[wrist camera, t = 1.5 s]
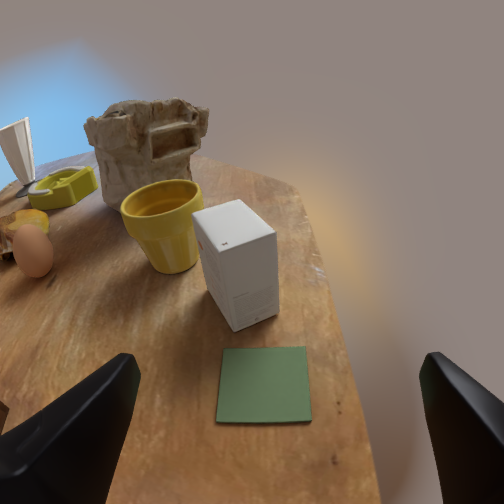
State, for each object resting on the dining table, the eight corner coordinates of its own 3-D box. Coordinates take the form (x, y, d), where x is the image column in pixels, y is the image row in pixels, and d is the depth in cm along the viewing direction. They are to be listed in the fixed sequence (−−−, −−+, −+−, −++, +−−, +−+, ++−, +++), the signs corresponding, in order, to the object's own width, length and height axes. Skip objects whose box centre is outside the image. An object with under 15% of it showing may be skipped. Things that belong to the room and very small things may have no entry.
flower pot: (140, 246, 46) (123, 188, 40) (206, 232, 48) (196, 172, 42) (139, 291, 38) (115, 225, 32) (218, 274, 39) (206, 205, 34)
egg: (57, 281, 40) (33, 231, 35) (23, 291, 38) (-2, 244, 33) (63, 256, 45) (44, 210, 40) (32, 266, 44) (11, 222, 38)
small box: (280, 314, 33) (279, 232, 27) (233, 334, 32) (218, 252, 25) (247, 273, 39) (240, 196, 33) (206, 288, 37) (190, 211, 31)
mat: (311, 421, 23) (311, 420, 23) (216, 422, 24) (215, 421, 23) (305, 347, 30) (305, 346, 29) (223, 349, 30) (223, 348, 30)
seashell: (37, 198, 57) (49, 203, 47) (46, 229, 60) (60, 241, 50) (-24, 226, 46) (-28, 238, 37) (-14, 257, 49) (-13, 277, 40)
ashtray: (60, 214, 58) (53, 194, 55) (22, 207, 65) (16, 190, 62) (109, 180, 70) (104, 162, 67) (64, 178, 77) (60, 163, 74)
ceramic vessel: (159, 131, 71) (185, 48, 50) (212, 206, 69) (259, 128, 48) (74, 162, 59) (72, 70, 38) (121, 251, 56) (129, 172, 35)
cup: (34, 193, 72) (13, 124, 59) (9, 200, 72) (-12, 135, 59) (52, 176, 81) (35, 113, 68) (27, 183, 81) (10, 123, 68)
